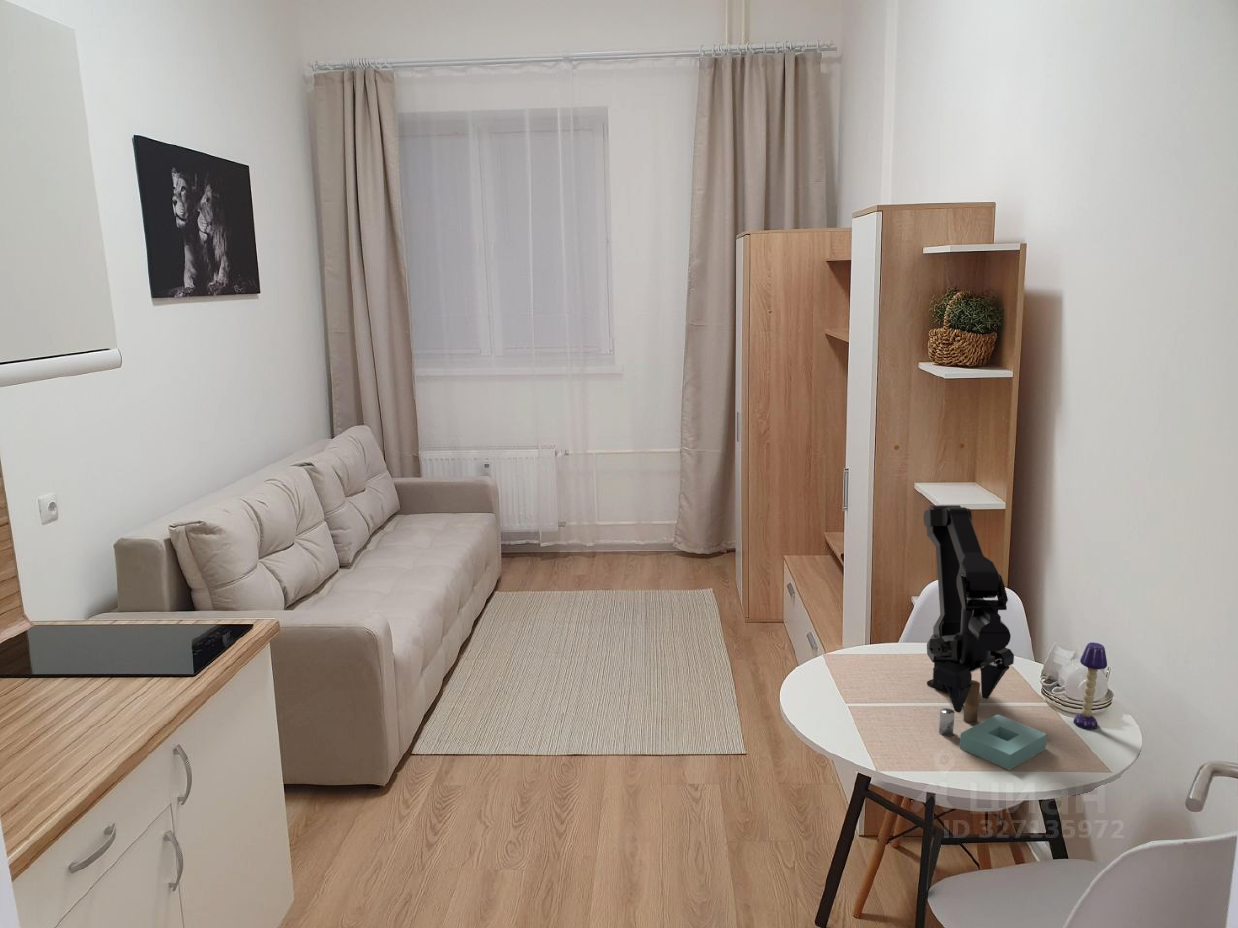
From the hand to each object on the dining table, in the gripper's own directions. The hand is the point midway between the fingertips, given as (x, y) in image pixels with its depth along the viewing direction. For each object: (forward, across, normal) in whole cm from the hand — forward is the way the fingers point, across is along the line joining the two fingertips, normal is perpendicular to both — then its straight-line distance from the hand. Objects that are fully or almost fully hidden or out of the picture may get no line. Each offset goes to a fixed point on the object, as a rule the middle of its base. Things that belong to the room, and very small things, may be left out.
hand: (971, 704), depth 184 cm
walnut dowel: (+3, 0, 0) cm, 3 cm away
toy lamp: (+4, -16, +15) cm, 22 cm away
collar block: (+3, +5, +10) cm, 12 cm away
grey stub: (+3, +8, 0) cm, 9 cm away
